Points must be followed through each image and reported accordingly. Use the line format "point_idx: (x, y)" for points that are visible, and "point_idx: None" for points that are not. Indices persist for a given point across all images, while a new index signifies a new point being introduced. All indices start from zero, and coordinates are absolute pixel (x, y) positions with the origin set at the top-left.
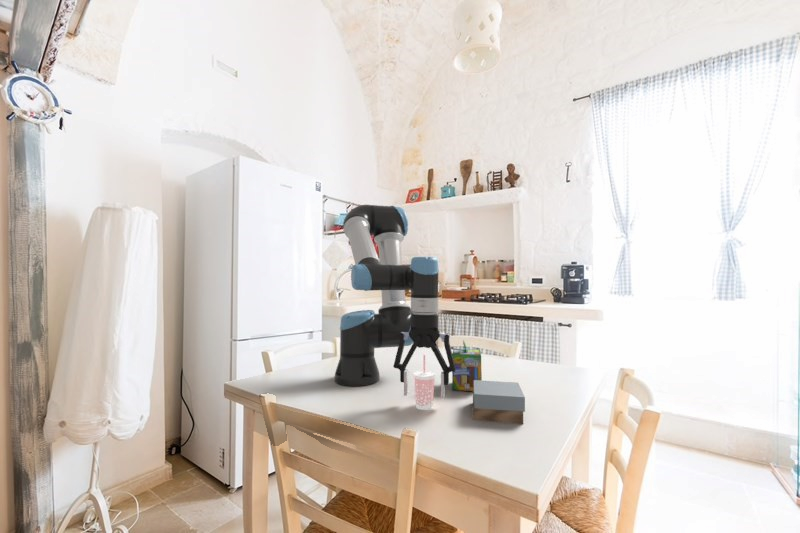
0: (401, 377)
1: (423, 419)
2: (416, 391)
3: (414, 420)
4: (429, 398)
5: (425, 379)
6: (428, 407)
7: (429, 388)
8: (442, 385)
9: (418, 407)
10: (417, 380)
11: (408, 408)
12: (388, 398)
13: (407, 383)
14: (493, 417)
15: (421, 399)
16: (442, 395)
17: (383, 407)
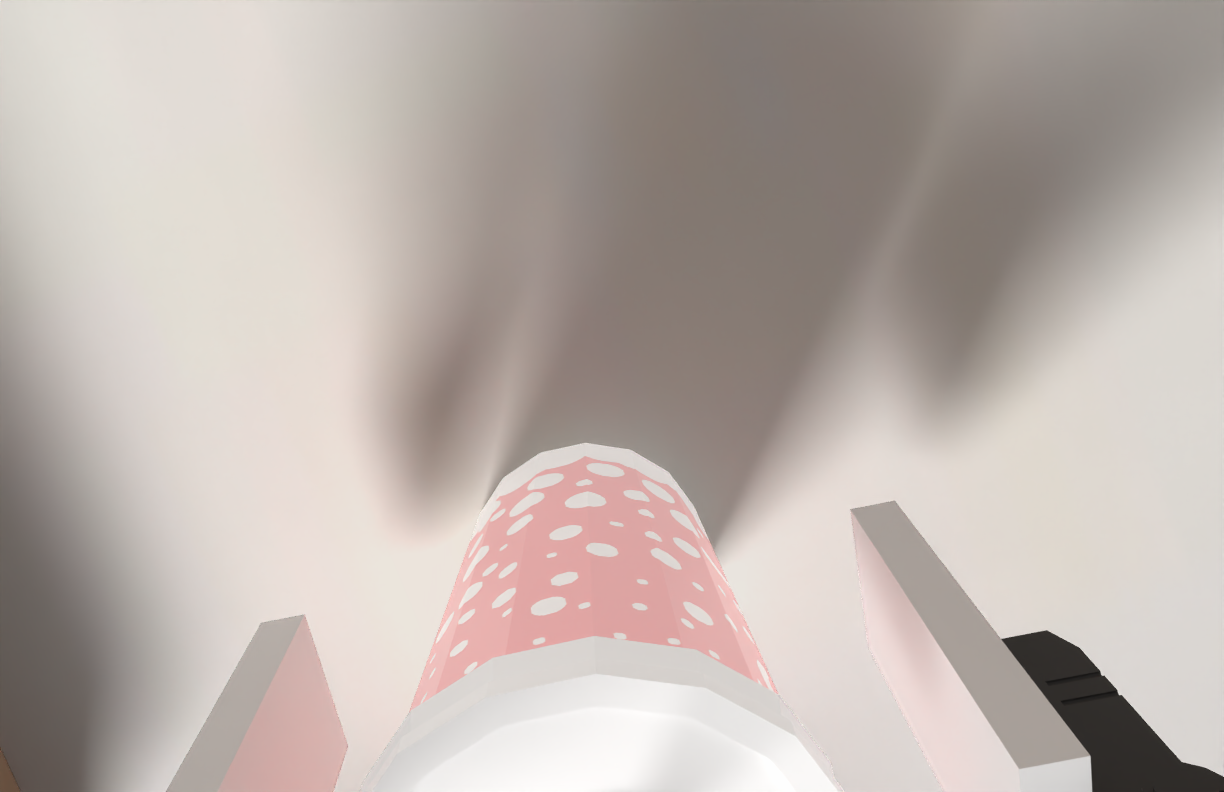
0: (1083, 690)
1: (437, 132)
2: (692, 562)
3: (540, 44)
4: (474, 556)
5: (488, 667)
6: (497, 491)
7: (450, 629)
8: (211, 752)
9: (635, 458)
10: (685, 645)
11: (769, 416)
12: (1140, 631)
13: (916, 675)
14: None
15: (587, 493)
16: (266, 644)
17: (1112, 312)
